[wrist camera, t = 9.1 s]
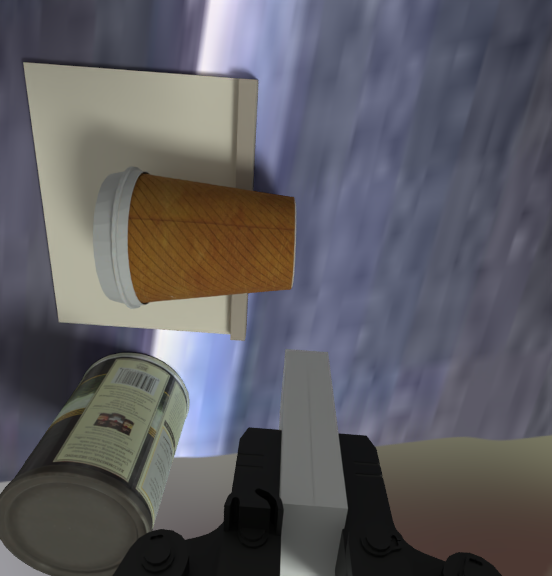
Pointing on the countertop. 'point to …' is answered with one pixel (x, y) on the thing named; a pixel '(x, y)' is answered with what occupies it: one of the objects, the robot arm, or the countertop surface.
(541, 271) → the countertop surface
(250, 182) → the cream flat rectangular board
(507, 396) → the countertop surface
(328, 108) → the countertop surface
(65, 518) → the coffee can
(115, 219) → the disposable coffee cup
